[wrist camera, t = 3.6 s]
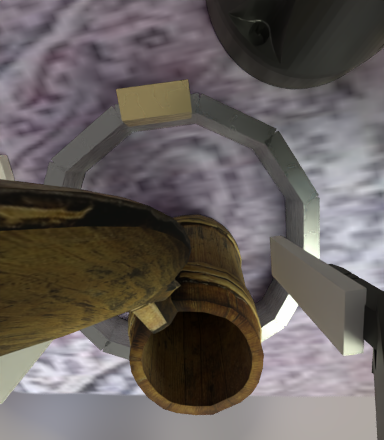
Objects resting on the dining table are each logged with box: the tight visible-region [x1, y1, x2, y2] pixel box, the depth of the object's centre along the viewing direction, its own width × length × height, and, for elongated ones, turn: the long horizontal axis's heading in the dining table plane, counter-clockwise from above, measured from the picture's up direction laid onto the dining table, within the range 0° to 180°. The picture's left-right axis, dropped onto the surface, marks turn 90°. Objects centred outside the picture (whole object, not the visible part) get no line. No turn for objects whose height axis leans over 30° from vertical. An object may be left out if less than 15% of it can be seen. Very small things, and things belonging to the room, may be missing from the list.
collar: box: [43, 79, 319, 360], centre depth 17 cm, size 23×22×5 cm
